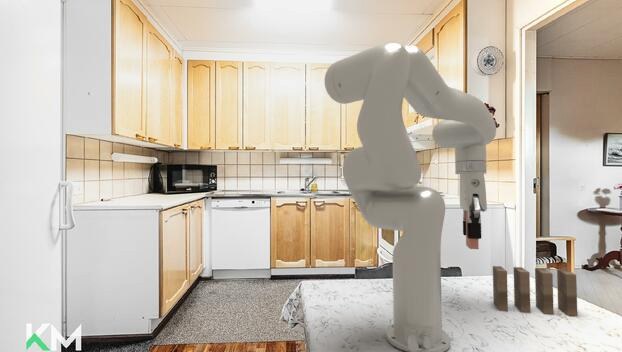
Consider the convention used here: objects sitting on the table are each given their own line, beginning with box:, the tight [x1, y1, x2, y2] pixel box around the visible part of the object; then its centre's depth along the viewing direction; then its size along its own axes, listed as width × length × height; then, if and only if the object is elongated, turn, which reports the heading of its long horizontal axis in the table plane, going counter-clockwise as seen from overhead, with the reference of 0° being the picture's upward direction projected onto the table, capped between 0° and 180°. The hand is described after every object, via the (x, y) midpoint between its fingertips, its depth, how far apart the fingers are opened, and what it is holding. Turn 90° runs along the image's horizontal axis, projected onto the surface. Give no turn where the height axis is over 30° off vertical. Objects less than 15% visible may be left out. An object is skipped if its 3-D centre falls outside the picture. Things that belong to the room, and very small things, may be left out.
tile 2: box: [534, 267, 554, 316], centre depth 84 cm, size 5×2×10 cm, turn 166°
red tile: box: [465, 209, 479, 250], centre depth 89 cm, size 5×2×10 cm, turn 166°
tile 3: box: [513, 266, 531, 314], centre depth 85 cm, size 5×2×10 cm, turn 166°
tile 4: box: [492, 265, 509, 312], centre depth 87 cm, size 5×2×10 cm, turn 166°
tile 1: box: [556, 268, 578, 317], centre depth 83 cm, size 5×2×10 cm, turn 166°
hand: (471, 236), depth 88 cm, fingers closed on red tile, 4 cm apart
